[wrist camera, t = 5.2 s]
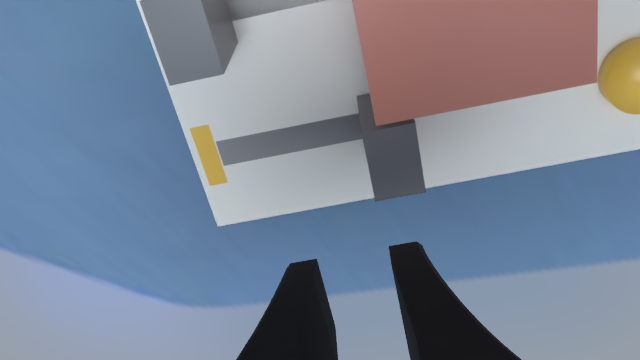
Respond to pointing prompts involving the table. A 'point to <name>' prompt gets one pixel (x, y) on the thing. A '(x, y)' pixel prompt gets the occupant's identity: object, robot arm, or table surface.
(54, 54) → the table surface
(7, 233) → the table surface
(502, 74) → the reddish pink block
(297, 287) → the robot arm
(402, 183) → the handle
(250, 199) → the breaker panel
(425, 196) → the table surface
